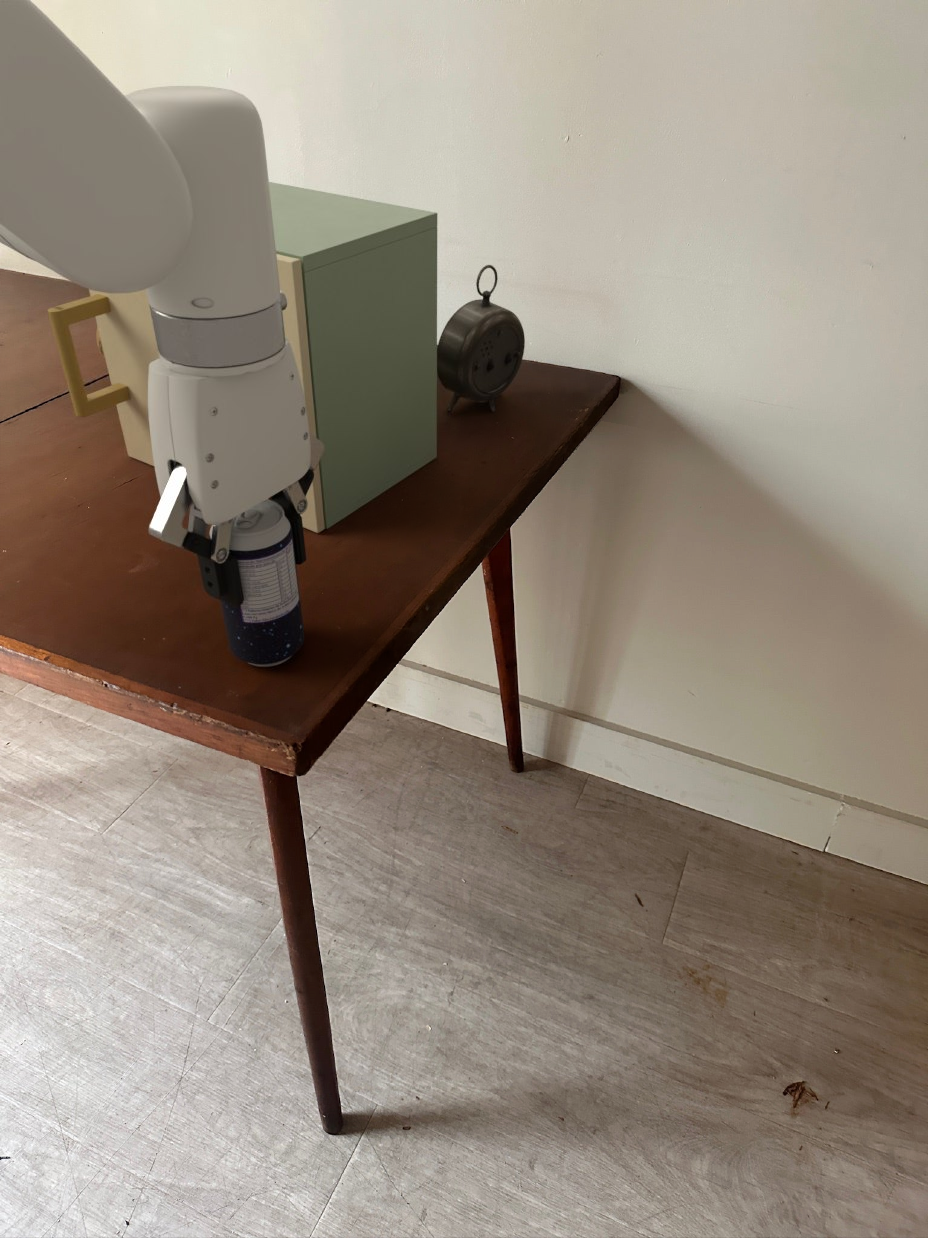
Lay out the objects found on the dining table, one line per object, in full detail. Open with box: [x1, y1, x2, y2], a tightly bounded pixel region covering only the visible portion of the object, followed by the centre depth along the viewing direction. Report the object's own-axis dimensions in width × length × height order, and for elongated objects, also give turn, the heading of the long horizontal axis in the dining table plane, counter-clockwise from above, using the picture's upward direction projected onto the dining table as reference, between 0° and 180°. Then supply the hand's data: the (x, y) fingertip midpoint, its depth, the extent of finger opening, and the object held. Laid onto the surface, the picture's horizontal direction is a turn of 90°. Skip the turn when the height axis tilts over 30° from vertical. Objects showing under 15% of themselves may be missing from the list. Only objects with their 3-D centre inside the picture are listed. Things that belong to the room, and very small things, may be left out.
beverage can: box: [208, 499, 305, 668], centre depth 63 cm, size 6×6×12 cm
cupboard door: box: [47, 254, 326, 534], centre depth 77 cm, size 7×26×24 cm, turn 56°
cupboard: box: [269, 181, 438, 530], centre depth 85 cm, size 18×26×24 cm
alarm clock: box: [437, 264, 526, 414], centre depth 99 cm, size 11×5×16 cm, turn 134°
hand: (257, 575), depth 63 cm, fingers closed on beverage can, 5 cm apart
